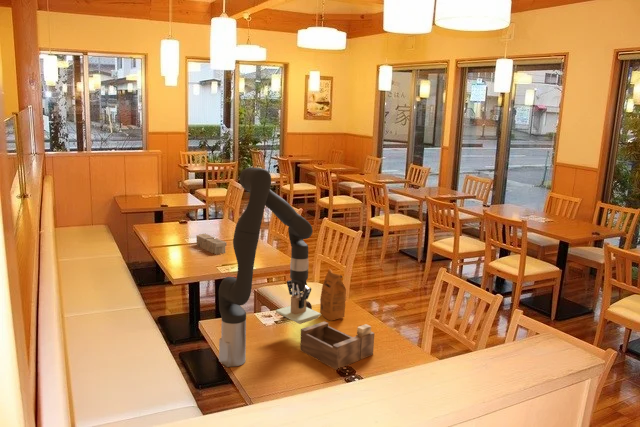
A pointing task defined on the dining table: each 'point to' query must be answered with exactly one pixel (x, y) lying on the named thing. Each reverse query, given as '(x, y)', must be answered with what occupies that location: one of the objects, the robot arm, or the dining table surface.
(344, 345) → the wooden box frame
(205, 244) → the block tower
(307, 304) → the bolt
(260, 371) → the dining table surface
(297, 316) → the lid
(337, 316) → the coffee package
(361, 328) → the tan wooden block
